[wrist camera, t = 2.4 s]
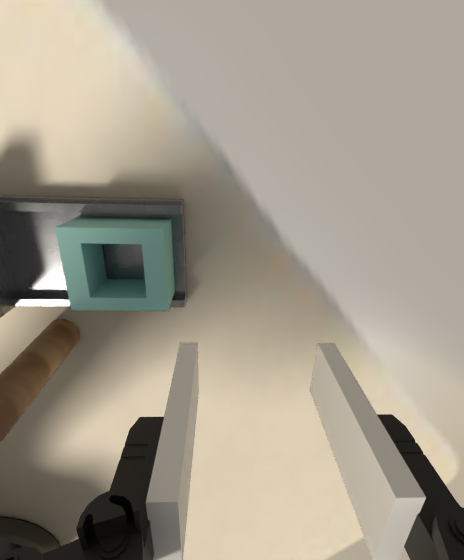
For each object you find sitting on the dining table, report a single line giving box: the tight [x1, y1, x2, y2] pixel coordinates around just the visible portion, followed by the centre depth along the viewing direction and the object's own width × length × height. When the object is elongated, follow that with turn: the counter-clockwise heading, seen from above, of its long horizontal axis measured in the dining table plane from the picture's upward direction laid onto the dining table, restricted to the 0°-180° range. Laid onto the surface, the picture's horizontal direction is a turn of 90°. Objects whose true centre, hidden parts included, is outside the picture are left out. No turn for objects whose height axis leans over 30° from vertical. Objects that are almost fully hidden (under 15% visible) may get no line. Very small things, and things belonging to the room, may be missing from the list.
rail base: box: [0, 195, 187, 317], centre depth 25 cm, size 18×10×7 cm, turn 89°
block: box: [55, 217, 175, 311], centre depth 26 cm, size 8×7×4 cm
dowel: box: [0, 320, 80, 442], centre depth 26 cm, size 3×3×12 cm
